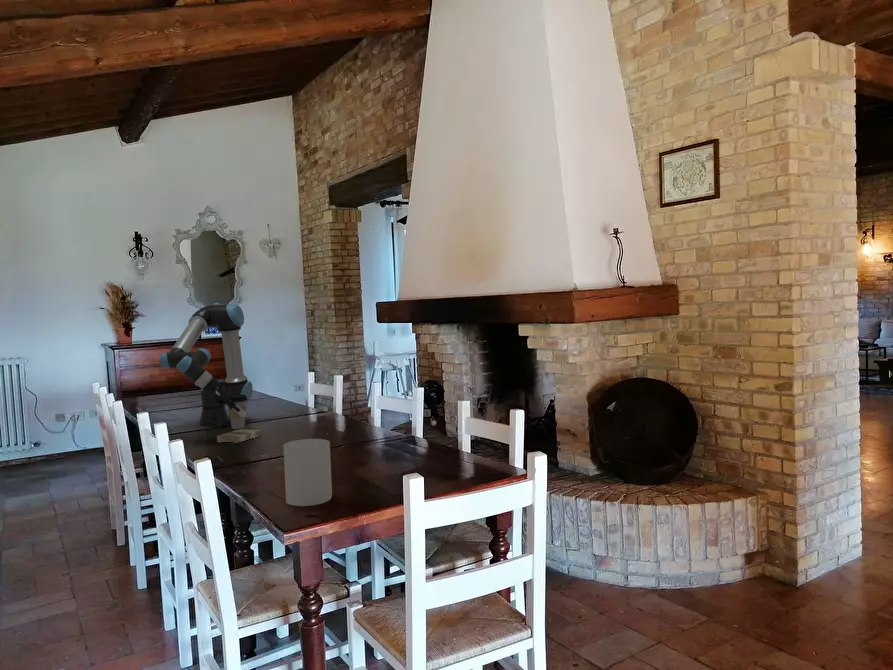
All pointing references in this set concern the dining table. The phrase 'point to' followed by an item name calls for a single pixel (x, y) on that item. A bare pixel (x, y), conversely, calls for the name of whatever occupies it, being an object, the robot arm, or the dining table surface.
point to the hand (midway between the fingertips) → (244, 413)
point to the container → (307, 472)
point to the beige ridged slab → (238, 435)
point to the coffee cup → (235, 418)
